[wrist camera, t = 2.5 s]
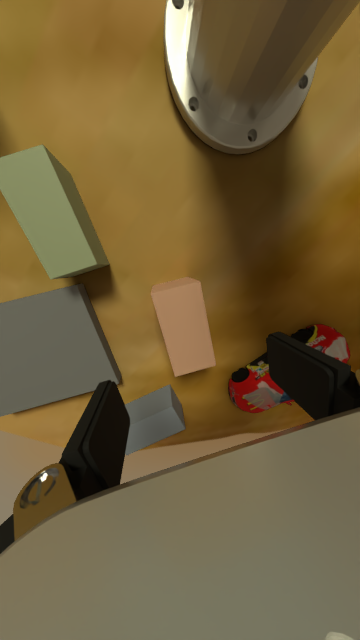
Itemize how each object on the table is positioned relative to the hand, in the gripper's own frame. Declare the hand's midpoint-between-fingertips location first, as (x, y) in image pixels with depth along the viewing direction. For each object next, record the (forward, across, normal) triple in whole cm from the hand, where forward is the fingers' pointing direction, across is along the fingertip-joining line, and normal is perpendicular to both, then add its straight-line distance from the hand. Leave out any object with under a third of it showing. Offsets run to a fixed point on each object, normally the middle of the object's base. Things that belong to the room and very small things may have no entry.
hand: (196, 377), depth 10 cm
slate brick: (+12, +6, +11) cm, 17 cm away
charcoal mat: (+11, +16, -1) cm, 19 cm away
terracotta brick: (+11, 0, -1) cm, 11 cm away
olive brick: (+11, +8, -12) cm, 18 cm away
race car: (+12, -13, +10) cm, 20 cm away
